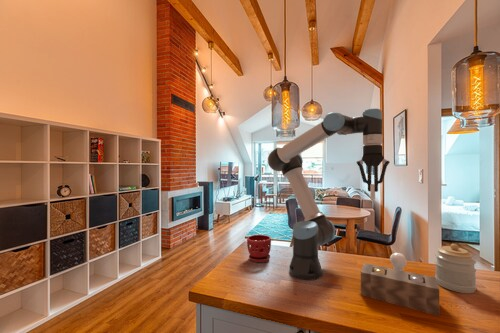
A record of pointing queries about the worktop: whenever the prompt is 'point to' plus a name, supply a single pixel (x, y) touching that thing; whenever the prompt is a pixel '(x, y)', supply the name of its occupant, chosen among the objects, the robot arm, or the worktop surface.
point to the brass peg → (379, 270)
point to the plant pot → (259, 248)
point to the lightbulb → (398, 261)
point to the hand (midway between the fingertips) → (372, 199)
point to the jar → (455, 269)
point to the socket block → (401, 289)
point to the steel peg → (416, 278)
